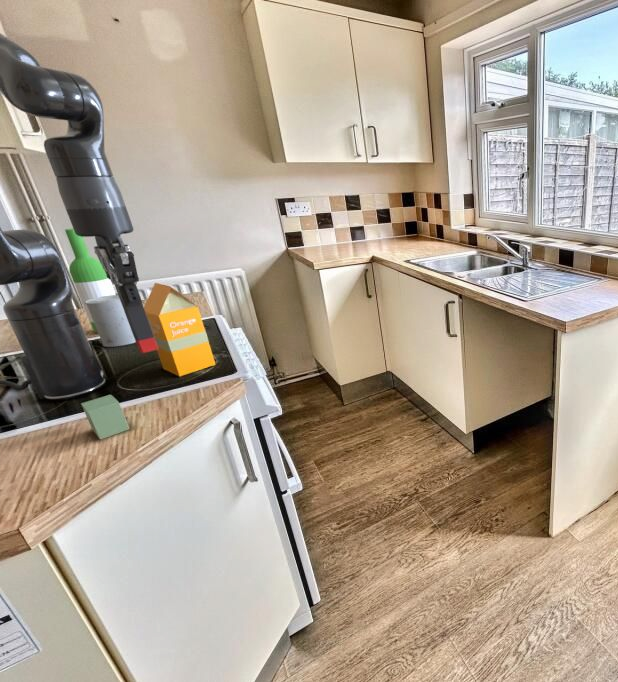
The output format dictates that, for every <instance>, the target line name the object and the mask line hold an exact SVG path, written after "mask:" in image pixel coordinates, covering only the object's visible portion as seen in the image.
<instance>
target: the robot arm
mask: <svg viewBox="0 0 618 682" xmlns="http://www.w3.org/2000/svg"><path fill="white" fill-rule="evenodd" d="M0 93H1V95H2V96H3V97H4V98H5V99H6V100H7V101H8V103H10V105H12V106H13V107H14V108H16V109H18V110H19V111H21V112H22V113H25V114H28V115H30V116H33V117H37V118H41V119H49V120H57V121H59V120H60V121H66V122H67V130H66V134H65V135H58V136H57V135H56V136H52V137H48V138H46V139H45V140H44V141H43V148H44V151H45V154H46V157H47V159H48V162H49V164H50V166H51V169H52V172H53V175H54V177H55V180H56V184H57V188H58V193H59V195H60V198H61V200H62V204H63V206H64V208H65V211H66V213H67V216H68V219H69V220H70V224H71V227H72V229H74V231H75V233H76V235H78V236H81V237H83V238H87V237H89V238H91V237H94V239H95V243H96V245H95V246H93V250H94V254H95V255H96V256H97V259H98V261H100V263H101V265H102V267H103V269H104V271H105V273H106V276H107V278H108V279H109V280H110V281H111V283H112V285H114V282H113V279H114V278H115V279H116V281H117V282H116V283H117V285H118V286H119V287H120V290H121V293H122V295H123V298H124V301H125V303H126V305H127V306H130V307H131V306H136V305H141V304H143V301H142V298H141V295H140V292H139V289H138V286H137V284H138V282H139V281H140V278H139V276H138V270H137V266H136V261H135V254H134V252H132V251H131V248H130V247H129V244H125V243H124V240H123V238H122V237H121V235H123V234H125V235H127V234H131V233H133V232H134V230H135V229H134V226H133V223H132V221H131V217H130V215H129V212H128V209H127V206H126V203H125V200H124V197H123V195H122V192H121V189H120V187H119V185H118V184H117V181H116V180H115V177H114V174H113V171H112V168H111V165H110V162H109V160H108V157H107V154H106V151H105V125H104V121H105V120H104V118H105V117H104V106H103V102H102V101H103V100H102V98H101V97H100V95H99V93H98V92H97V90H96V88H95V87H94V86H93V85H92V83H90V82H89V81H88V80H87V79H86V78H84V77H83V76H81V75H79V74H76V73H73V72H69V71H64V70H57V69H54V68H53V69H52V68H48V67H44V66H41V64H40V63H39V61H38V60H37V58H35V56H34V55H33V54H32V53H31V52H29V51H28V50H27V49H25V48H24V47H23V46H21V45H19V43H17V42H15V41H14V40H12V39H10V38H9V37H8V36H6V35H4V34H3V33H1V32H0ZM16 283H18V289H17V292H16V293H15V295H14V296H13V297H12V298H10V299H9V300H8V301H6V302H5V303H4V304H3V305H2V309H3V313H4V314H5V316H6V319H7V321H8V323H9V325H10V327H11V329H12V331H13V333H14V335H15V337H16V339H17V341H18V343H19V345H20V347H21V349H22V352H23V353H24V354H23V355H21V356H20V361H21V363H22V365H23V367H24V369H25V371H26V373H27V375H28V377H29V378H28V379H26V380H24V381H23V382H22V383H21V384H18V383H16V382H13V381H9V380H3V379H0V385H2V386H7V387H11V388H13V389H15V390H19V391H20V390H22V391H23V390H26V389H28V388H29V385H32V387H33V389H34V390H35V392H36V393H37V395H38V398H39V400H46V401H49V402H53V401H54V402H55V401H65V400H71V399H75V398H79V397H82V396H85V395H89V394H91V393H94V392H96V391H98V390H100V389H102V388H103V387H105V386H106V385H107V381H106V379H105V377H104V371H103V369H101V368H100V365H99V363H98V361H97V357H96V356H95V354H94V352H93V349H92V347H91V344H90V342H89V339H88V337H87V334H86V332H85V330H84V327H83V326H82V323H81V321H80V318H79V316H78V313H77V311H76V309H75V305H74V304H73V294H74V292H73V288H72V285H71V282H70V279H69V276H68V272H67V270H66V267H65V264H64V261H63V259H62V256H61V254H60V252H59V250H58V249H57V247H56V245H55V244H54V243H53V241H52V240H51V239H49V237H47V235H44V234H43V233H41V232H39V231H36V230H33V229H26V228H25V229H12V230H3V229H2V228H1V226H0V286H5V285H6V286H7V285H11V284H16Z"/></svg>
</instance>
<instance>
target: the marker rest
mask: <svg viewBox="0 0 618 682" xmlns="http://www.w3.org/2000/svg"><path fill="white" fill-rule="evenodd" d="M80 405H81V408H82V409H83V412H84V414H85V417H86V419H87V421H88V423H89V425H90V427H91V430H92V431H93V432H94V434H95V435H96V436H97V438H98V439H99V440H103V439H107V438H109V437H112V436H115V435H117V434H120V433H122V432H126V431H128V430H130V429H131V428H130V426H129V423H128V421H127V419H126V416H125V414H124V411H123V408H122V406H121V404H120V402H119V401H118V400H117V398H115V397H114V396H113V395H112V394H108V395H105V396H101V397H98V398H94V399H91V400H88V401H85V402H82V403H80Z"/></svg>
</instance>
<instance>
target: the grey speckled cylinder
mask: <svg viewBox="0 0 618 682" xmlns="http://www.w3.org/2000/svg"><path fill="white" fill-rule="evenodd" d="M85 303H86V304H87V307H88V309H89V311H90V314H91V316H92V319H93V321H94V324H95V326H96V329H97V331H98V332H97V333H98V337H99V338H100V341H101V343H102V346H103V347H105V348H106V347H107V348H113V347H122V346H127V345H132V344H136V341H135V338H134V336H133V333H132V330H131V328H130V325H129V322H128V320H127V317H126V314H125V312H124V309H123V306H122V304H121V301H120V298H119V296H118V294H116V295H109V296H103V297H98V298H94V299H90V300H88V301H86V302H85Z"/></svg>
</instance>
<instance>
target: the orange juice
mask: <svg viewBox="0 0 618 682" xmlns="http://www.w3.org/2000/svg"><path fill="white" fill-rule="evenodd" d="M143 307H144V310H145V313H146V316H147V318H148V321H149V324H150V327H151V330H152V333H153V335H154V338H155V341H156V344H157V347H158V350H156V352H157V355H158V357H159V360H160V363H161V366H162V369H163V370H165V371H167V372H170V373H171V374H174V375H175V376H178V377H183V376H186V375H189V374H191V373H194V372H198V371H201V370H203V369H207V368H210V367H212V366H215V365H216V361H215V357H214V353H213V351H212V347H211V345H210V341H209V337H208V335H207V330H206V329H205V325H204V322H203V318H202V316H201V312H200V310H199V306H198V305H196V303H194V302H193V301H191V300H190V299H189V298H187V297H186V296H184V295H183V294H182V293H180V292H179V291H177V290H176V289H175V288H174V287H172V286H170V285H166V284H163V283H162V284H161V283H158V282H154V283H153V286H152V288H151V291H150V292H149V296H148V297H147V300H146V301H145V305H144V306H143Z"/></svg>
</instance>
